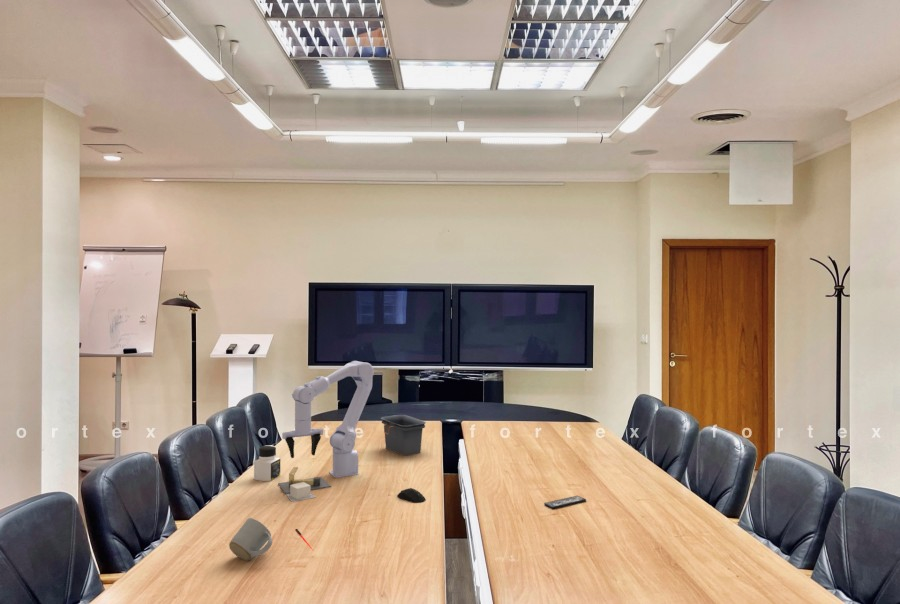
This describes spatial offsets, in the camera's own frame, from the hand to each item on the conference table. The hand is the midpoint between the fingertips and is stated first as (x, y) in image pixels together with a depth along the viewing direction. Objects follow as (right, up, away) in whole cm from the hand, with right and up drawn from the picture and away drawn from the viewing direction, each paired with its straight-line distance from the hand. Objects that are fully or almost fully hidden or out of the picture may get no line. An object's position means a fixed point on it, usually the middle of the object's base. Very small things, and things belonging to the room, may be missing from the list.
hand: (302, 456), depth 208 cm
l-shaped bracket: (+2, -9, -2) cm, 9 cm away
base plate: (+2, -10, -4) cm, 11 cm away
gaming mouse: (+42, -11, -18) cm, 47 cm away
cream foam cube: (+3, -9, -15) cm, 18 cm away
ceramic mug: (+4, -10, -62) cm, 63 cm away
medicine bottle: (-15, -10, +6) cm, 19 cm away
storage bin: (+32, -10, +44) cm, 56 cm away
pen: (+14, -11, -51) cm, 54 cm away
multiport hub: (+92, -11, -23) cm, 95 cm away
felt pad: (+3, -10, -15) cm, 18 cm away
